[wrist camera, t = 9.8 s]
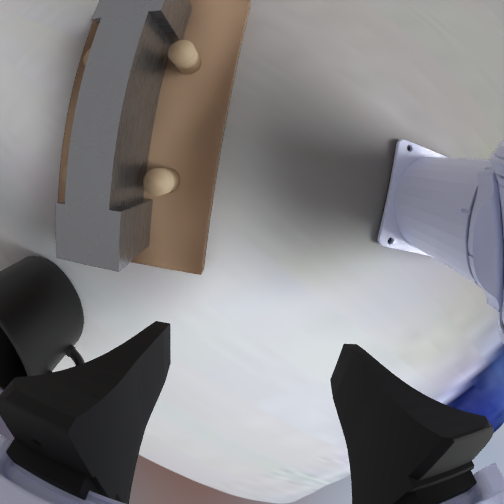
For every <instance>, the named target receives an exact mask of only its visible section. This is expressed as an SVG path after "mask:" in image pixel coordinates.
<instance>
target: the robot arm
mask: <svg viewBox="0 0 504 504" xmlns="http://www.w3.org/2000/svg"><path fill="white" fill-rule="evenodd" d="M407 146H409V147H410V151H408V150H407ZM389 238H392V240H391V242H390V243H388V239H389ZM377 240H378V243H379V244H380V245H382V246H385V247H389V248H394V249H399V250H404V251H409V252H413V253H418V254H423V255H427V256H431V257H433V258H435V259H436V260H438V261H440V262H441V263H443V264H444V265H446V266H448V267H449V268H451V269H453V270H454V271H456V272H457V273H459V274H460V275H462V276H464V277H465V278H467V279H468V280H470V281H471V282H473V283H474V284H476V285H477V286H479V287H480V288H482V289H483V290H484V291H485V293H486V297H487V303H488V304H489V305H490V306H492V307H493V308H494V309H496V310H497V311H498V312H500V313H499V323H498V327H499V333H500V336H501V339H502V341H503V343H504V140H503V141H501V142H500V143H499V144H498V146H497V148H496V149H495V151H494V152H493V153H492V154H491V157H490V160H487V159H471V158H448V157H446V156H443V155H441V154H439V153H437V152H434V151H432V150H429V149H427V148H425V147H422V146H420V145H417V144H415V143H412V142H409V141H407V140H399V141H398V142H397V144H396V150H395V157H394V163H393V168H392V174H391V179H390V185H389V190H388V194H387V199H386V204H385V208H384V213H383V217H382V222H381V226H380V230H379V234H378V239H377ZM169 366H170V324H169V323H164V322H158V321H156V322H154V323H153V324H151V325H150V326H148V327H147V328H145V329H144V330H143V331H141V332H140V333H138V334H137V335H135V336H134V337H132V338H131V339H129V340H128V341H126V342H125V343H123V344H122V345H120V346H118V347H116V348H115V349H113V350H111V351H110V352H108V353H106V354H104V355H102V356H100V357H98V358H96V359H93V360H91V361H89V362H86V363H83V364H81V365H78V366H75V367H72V368H69V369H65V370H62V371H57V372H53V373H48V374H43V375H35V376H25V377H15V378H14V379H13V380H12V382H11V383H10V384H9V385H8V386H7V387H6V388H5V390H4V391H3V392H2V393H1V394H0V416H1V417H2V419H3V421H4V422H5V424H6V425H7V427H8V429H9V430H10V432H11V433H12V435H13V436H14V438H15V439H14V440H13V442H12V443H10V442H9V441H8V440H7V439H6V438H4V437H3V436H2V435H0V504H129V499H130V492H131V486H132V481H133V476H134V471H135V466H136V462H137V458H138V454H139V450H140V446H141V442H142V438H143V435H144V431H145V428H146V425H147V423H148V420H149V418H150V415H151V413H152V411H153V409H154V406H155V404H156V402H157V399H158V397H159V395H160V392H161V390H162V388H163V385H164V383H165V380H166V377H167V373H168V370H169ZM331 388H332V394H333V400H334V403H335V407H336V410H337V413H338V417H339V420H340V423H341V426H342V430H343V433H344V436H345V440H346V444H347V449H348V456H349V462H350V471H351V481H352V504H504V477H503V475H502V473H501V472H500V470H499V468H498V467H497V465H496V463H493V464H491V465H489V466H487V467H485V468H483V469H481V470H480V471H478V472H476V473H475V474H474V475H473V474H472V472H471V470H472V469H473V468H474V464H473V462H472V460H473V459H474V458H475V456H477V454H478V453H479V452H480V451H481V450H482V449H483V448H484V447H485V446H486V444H487V443H488V442H489V440H490V439H491V437H492V435H493V431H494V429H493V427H492V425H491V424H490V423H489V421H488V420H487V418H486V417H485V416H481V415H477V414H472V413H468V412H464V411H461V410H458V409H455V408H452V407H450V406H447V405H444V404H442V403H440V402H438V401H436V400H434V399H431V398H429V397H428V396H426V395H424V394H422V393H420V392H419V391H417V390H415V389H414V388H412V387H411V386H409V385H408V384H406V383H405V382H403V381H402V380H401V379H399V378H398V377H397V376H395V375H394V374H393V373H391V372H390V371H389V370H388V369H386V368H385V367H384V366H383V365H382V364H380V363H379V362H378V361H377V360H376V359H374V358H373V357H372V356H371V355H370V354H369V353H367V352H366V351H365V350H364V349H362V348H361V347H360V346H358V345H357V344H344V345H343V348H342V351H341V353H340V356H339V359H338V361H337V364H336V367H335V369H334V372H333V375H332V377H331Z"/></svg>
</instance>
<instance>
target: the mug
mask: <svg viewBox="0 0 504 504" xmlns="http://www.w3.org/2000/svg"><path fill="white" fill-rule="evenodd" d="M83 324H84V316H83V309H82V306H81V302H80V299H79V297H78V294H77V292H76V290H75V288H74V287H73V285H72V283H71V282H70V280H69V279H68V278H67V276H66V275H65V274H64V273H63V272H62V271H61V270H60V269H59V268H58V267H57V266H56V265H55V264H53V263H52V262H50V261H49V260H46V259H44V258H41V257H35V256H34V257H27V258H25V259H23V260H21V261H19V262H17V263H15V264H13V265H11V266H10V267H8V268H6V269H4V270H2V271H0V389H1V390H3V391H4V390H5V388H6V387H7V386H8V385H9V384H10V383H11V382H12V380H13V379H14V378H15V377H25V376H35V375H43V374H48V373H53V372H52V370H53V369H54V368H55V367H56V365H57V364H58V363H59V362H60V361H61V359H62V358H63V357H64V356H65V355H67V356H68V357H69V356H70V357H71V358H72V360H73V361H74V363H75V365H76V366H78V365H81V364H83V363H85V362H84V360H83V358H82V356H81V355H80V354H79V353H78V352H77V351H76V349H75V347H74V346H73V345H74V344H75V343H76V342H77V341H78V340H79V338H80V336H81V334H82V330H83Z"/></svg>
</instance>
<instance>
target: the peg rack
mask: <svg viewBox="0 0 504 504" xmlns="http://www.w3.org/2000/svg"><path fill="white" fill-rule="evenodd" d="M189 1H190V3H191V6H192V11H191V14H190V17H189V21H188V24H187V27H186V31H185V34H184V38H183V40H179V41H177V42H175V43H172V45H171V46H170V48H169V49H168V61H167V65H166V69H165V73H164V77H163V81H162V86H161V90H160V95H159V100H158V105H157V110H156V115H155V120H154V126H153V132H152V138H151V144H150V151H149V158H148V165H147V173H146V175H145V177H144V180H143V185H144V188H145V190H144V199H152V200H153V206H152V217H151V229H150V242H149V247H148V248H146V249H145V250H144V251H143V252H141V253H140V254H139V255H138V256H137V257H135V258H134V259H133V260H132V261H131V262H134V263H139V264H144V265H150V266H155V267H160V268H166V269H171V270H177V271H183V272H188V273H194V274H200V275H201V274H202V271H203V269H204V263H205V255H206V247H207V239H208V231H209V224H210V217H211V210H212V203H213V196H214V189H215V183H216V176H217V170H218V164H219V158H220V152H221V146H222V140H223V134H224V129H225V123H226V118H227V112H228V107H229V102H230V97H231V91H232V86H233V81H234V77H235V72H236V67H237V62H238V58H239V53H240V48H241V44H242V39H243V35H244V31H245V26H246V22H247V18H248V14H249V10H250V0H189ZM98 26H99V25H98V24H97V23H96V22H95V21H93V24H92V26H91V29H90V32H89V35H88V38H87V41H86V44H85V47H84V50H83V53H82V56H81V60H80V63H79V67H78V70H77V74H76V78H75V82H74V86H73V91H72V95H71V100H70V104H69V110H68V115H67V120H66V126H65V133H64V140H63V147H62V156H61V166H60V178H59V194H58V203H59V202H62V201H65V189H66V174H67V164H68V154H69V146H70V139H71V132H72V126H73V120H74V114H75V109H76V104H77V99H78V94H79V90H80V86H81V82H82V78H83V74H84V70H85V66H86V63H87V59H88V56H89V52H90V49H91V46H92V43H93V40H94V37H95V34H96V31H97V28H98Z"/></svg>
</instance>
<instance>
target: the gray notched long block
mask: <svg viewBox="0 0 504 504" xmlns="http://www.w3.org/2000/svg"><path fill="white" fill-rule="evenodd" d="M191 11H192V6H191V3H190V1H189V0H100V1H99V3H98V5H97V8H96V10H95V13H94V15H93V18H92V20H93V21H95V22H96V23H97V24H98V25H99V26H98V28H97V31H96V34H95V37H94V40H93V43H92V46H91V49H90V52H89V56H88V59H87V63H86V66H85V70H84V74H83V78H82V82H81V86H80V90H79V94H78V99H77V104H76V109H75V114H74V120H73V126H72V132H71V139H70V146H69V154H68V164H67V174H66V189H65V201H62V202H59V203H56V256H57V258H60V259H64V260H69V261H73V262H77V263H82V264H86V265H91V266H95V267H100V268H104V269H109V270H114V271H118V272H119V271H120V270H121V269H122V268H124V267H125V266H126V265H127V264H128V263H129V262H131V261H132V260H133V259H134V258H135V257H137V256H138V255H139V254H140V253H141V252H143V251H144V250H145V249H146V248H148V247H149V242H150V229H151V217H152V206H153V200H152V199H144V190H145V188H144V185H143V180H144V177H145V175H146V173H147V165H148V158H149V151H150V144H151V138H152V132H153V126H154V120H155V115H156V110H157V105H158V100H159V95H160V90H161V86H162V81H163V77H164V73H165V69H166V65H167V61H168V49H169V48H170V46H171V45H172V43H175V42H177V41H179V40H183V38H184V34H185V31H186V27H187V24H188V21H189V17H190V14H191Z"/></svg>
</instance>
